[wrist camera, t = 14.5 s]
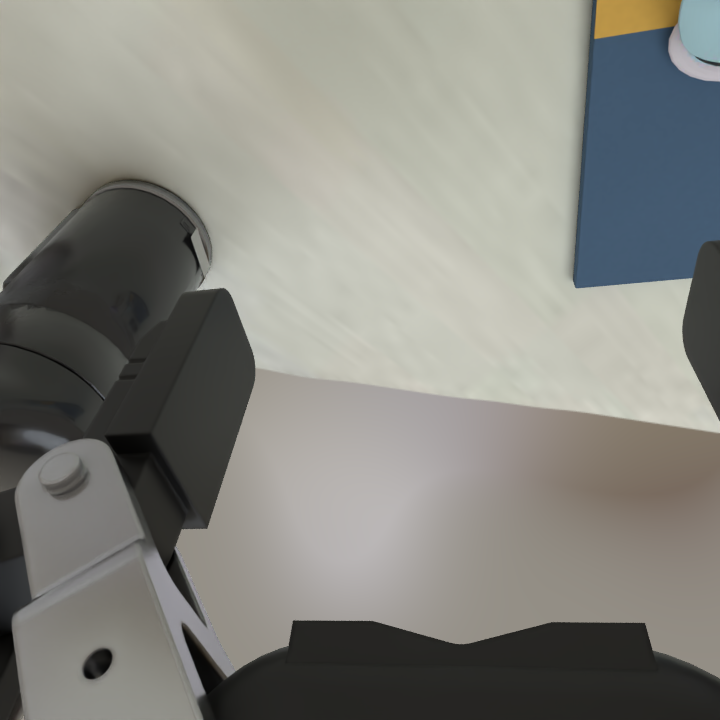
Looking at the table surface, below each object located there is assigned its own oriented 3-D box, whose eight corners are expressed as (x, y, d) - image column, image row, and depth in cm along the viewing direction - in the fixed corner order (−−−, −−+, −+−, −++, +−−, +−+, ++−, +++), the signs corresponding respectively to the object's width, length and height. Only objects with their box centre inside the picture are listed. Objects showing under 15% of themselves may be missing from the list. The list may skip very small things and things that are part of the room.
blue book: (572, 281, 42) (575, 289, 41) (596, -55, 29) (601, -52, 29) (790, 261, 40) (798, 270, 39) (919, -116, 27) (935, -115, 26)
